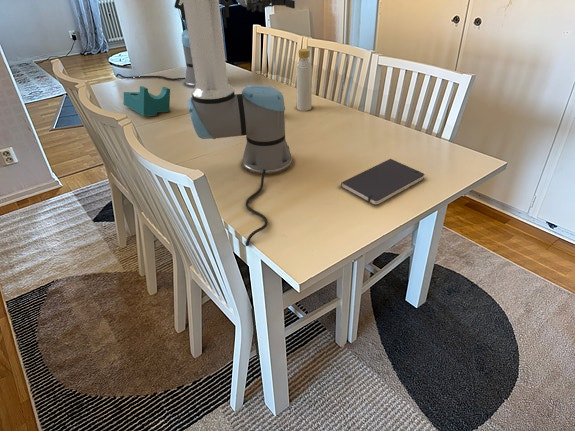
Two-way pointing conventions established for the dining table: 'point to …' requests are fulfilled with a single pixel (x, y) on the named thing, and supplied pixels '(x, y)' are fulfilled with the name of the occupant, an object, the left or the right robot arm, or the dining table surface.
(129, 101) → the teal notched cradle block
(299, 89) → the bottle
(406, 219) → the dining table surface
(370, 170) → the notebook
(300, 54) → the cap
